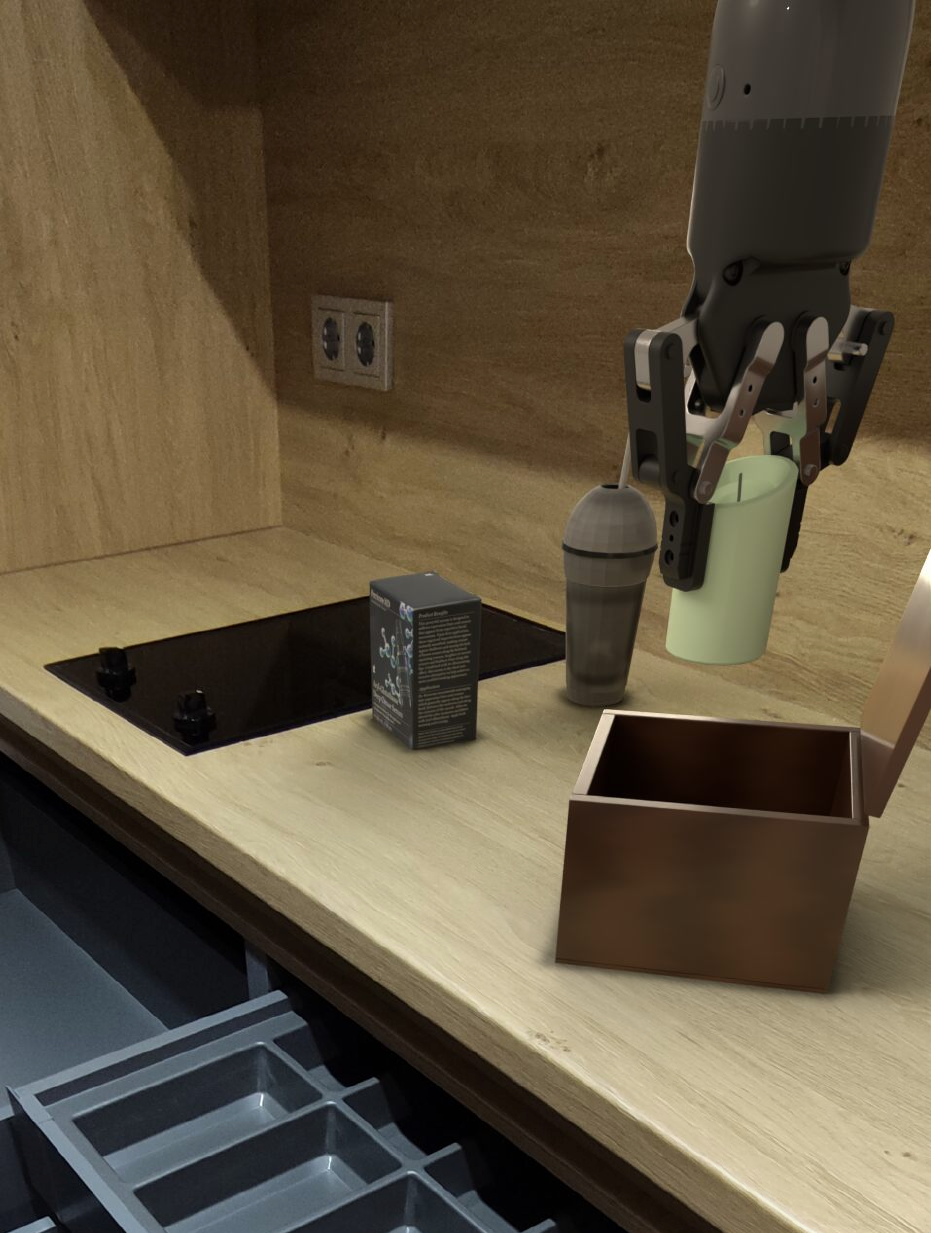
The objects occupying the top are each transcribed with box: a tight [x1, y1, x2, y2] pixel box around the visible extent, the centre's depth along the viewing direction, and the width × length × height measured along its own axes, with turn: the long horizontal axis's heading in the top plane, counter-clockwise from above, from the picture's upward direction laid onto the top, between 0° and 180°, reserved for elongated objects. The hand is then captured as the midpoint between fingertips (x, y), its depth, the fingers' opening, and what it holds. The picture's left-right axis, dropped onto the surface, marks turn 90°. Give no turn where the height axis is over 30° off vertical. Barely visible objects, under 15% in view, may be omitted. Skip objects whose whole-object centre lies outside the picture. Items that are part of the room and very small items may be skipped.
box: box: [368, 570, 483, 751], centre depth 93 cm, size 8×6×11 cm
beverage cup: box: [560, 432, 659, 707], centre depth 95 cm, size 7×7×20 cm
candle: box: [665, 454, 799, 667], centre depth 60 cm, size 5×5×8 cm
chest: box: [554, 708, 871, 995], centre depth 69 cm, size 15×14×10 cm
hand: (725, 577), depth 61 cm, fingers closed on candle, 5 cm apart
